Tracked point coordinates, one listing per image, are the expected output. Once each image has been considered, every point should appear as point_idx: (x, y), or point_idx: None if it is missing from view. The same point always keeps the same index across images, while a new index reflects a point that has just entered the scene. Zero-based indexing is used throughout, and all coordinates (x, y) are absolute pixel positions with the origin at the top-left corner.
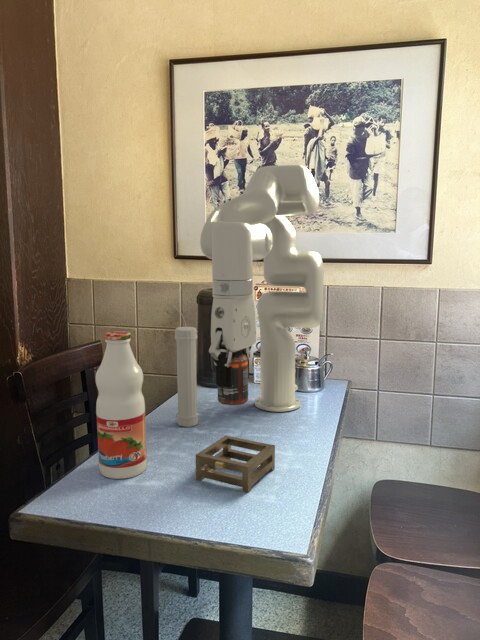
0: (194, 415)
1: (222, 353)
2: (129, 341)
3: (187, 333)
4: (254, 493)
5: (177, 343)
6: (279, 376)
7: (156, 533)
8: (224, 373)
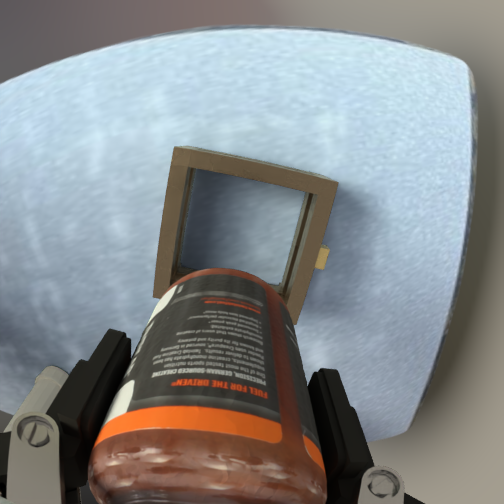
0: (51, 381)
1: None
2: None
3: None
4: (319, 161)
5: None
6: None
7: (458, 281)
8: (364, 447)
